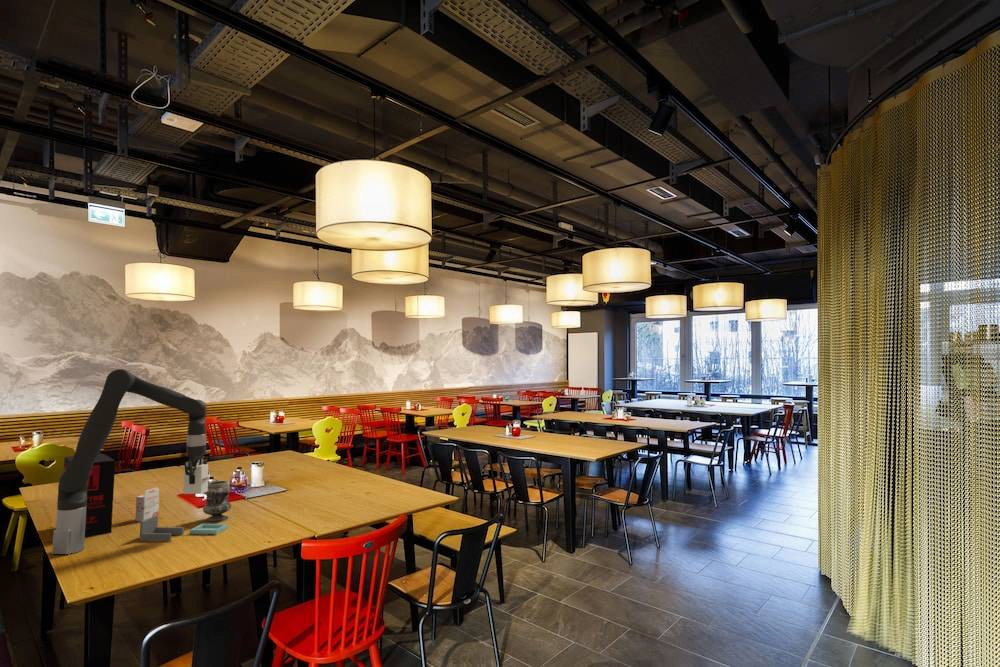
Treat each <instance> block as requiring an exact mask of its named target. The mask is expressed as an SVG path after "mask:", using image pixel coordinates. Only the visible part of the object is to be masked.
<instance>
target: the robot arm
mask: <svg viewBox="0 0 1000 667" xmlns="http://www.w3.org/2000/svg"><path fill="white" fill-rule="evenodd" d="M126 393H131V394H135V395H139V396H142V397H145V398H147V399H149V400H152V401H153V402H157V403H159V404H161V405H164V406H167V407H169V408H172V409H176V410H178V411H181V412H183V413H185V414H187V415H188V424H187V437H186V456H187V457H189V458H188V461H185V462H184V463H183V465H184V466H185V473H186V475H188V476H189V484H195V470H196V468H197V466H198V465H203V464H208V459H209V458H208V456H204V455H206V454H207V437H206V435H207V433H206V429H207V426H206V416H207V404H206V402H205V401H203V400H202V399H194V398H192V397H189V396H186V395H185V394H183V393H180V392H179V391H175V390H173V389H170V388H167V387H164V386H160V385H157V384H154V383H152V382H148V381H146V380H144V379H142V378H139V377H138V376H137V375H135V374H133V373H132V372H131V371H129V370H127V369H123V368H119V369H114V370H112V371H111V372H109V373H108V375H107V376H106V379H105V382H104V386H103V388H102V391H101V393H100V397H99V399H97V400H98V401H97V402H96V404H95V405H94V407H93V409H92V411H91V412H90V414H89V416H88V418H87V420H86V422H85V423H84V426H83V428H82V430H81V432H80V434H79V435H80V436H79V437H78V441H77V444H76V447H75V448H76V449H75V451H74V454H73V456H74V457H73V458H72V460H71V462H70V464H69V466H68V467H67V469H65V470H64V469H63V471H62V472H61V473H60V475H59V476H58V488H57V489H58V490H57V503H56V505H57V506H56V521H55V522H56V523H55V529H54V530H53V533H52V534H53V535H52V547H51V548H52V549H51V550H52V552H51V554H52V553H53V554H65V555H64V556H67V555H66V554H68V555H71V553H72V554H75V553H79V552H81V551H83V550H84V549H85V539H86V538H85V523H86V507H87V485H88V480H89V476H90V473H91V470H92V467H93V464H94V462H95V459H96V457H97V456H98V454H100V452H101V451H102V449H103V447H104V445H105V443H106V442H107V440H108V438H109V436H110V433H111V432H112V429H113V426H114V424H115V422H116V419H117V415H118V411H119V408H120V404H121V402H122V400H123V398H124V396H125V394H126ZM184 466H183V467H184ZM192 467H195V468H192ZM188 470H189V472H188ZM192 470H193V472H192Z"/></svg>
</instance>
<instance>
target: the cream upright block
mask: <svg viewBox="0 0 1000 667" xmlns="http://www.w3.org/2000/svg"><path fill="white" fill-rule="evenodd" d="M192 468H195V467H192ZM188 472H189V470H188ZM192 472H193V470H192ZM208 483H209V464H208V463H207V464H203V465H198V466H197V468H196V470H195V484H189V476H188V475H186V473H185V466H183V490H182V491H183V493H182V494H184V495H194V494H195V495H199V494H200V495H202V494H204V492H206V491H208Z"/></svg>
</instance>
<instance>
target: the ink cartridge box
mask: <svg viewBox="0 0 1000 667" xmlns="http://www.w3.org/2000/svg"><path fill="white" fill-rule="evenodd" d="M159 490H160V488H159V486H158V487H153V488H149V489H146V490H144V491H143V492H144V494H141V495H138V496H136V497H135V498H136V500H135V501H136V503H135V522H141V521H144V520H146V519H148V518H151V517H153V516H156V515H158V516H159V506H160V504H159V502H160V500H159V499H160V491H159ZM151 491H152V492H151Z"/></svg>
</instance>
